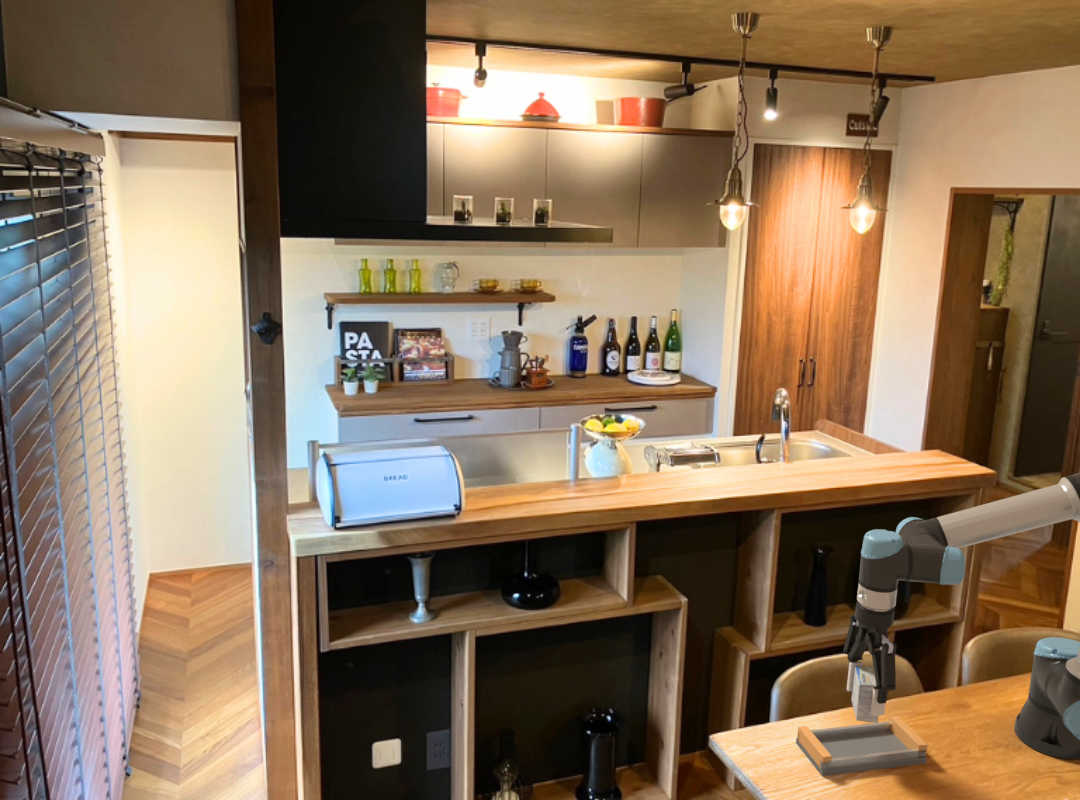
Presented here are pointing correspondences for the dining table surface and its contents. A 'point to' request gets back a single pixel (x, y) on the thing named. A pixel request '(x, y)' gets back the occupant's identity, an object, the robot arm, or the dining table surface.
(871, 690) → the medicine box
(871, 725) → the grey shallow tray
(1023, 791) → the dining table surface
